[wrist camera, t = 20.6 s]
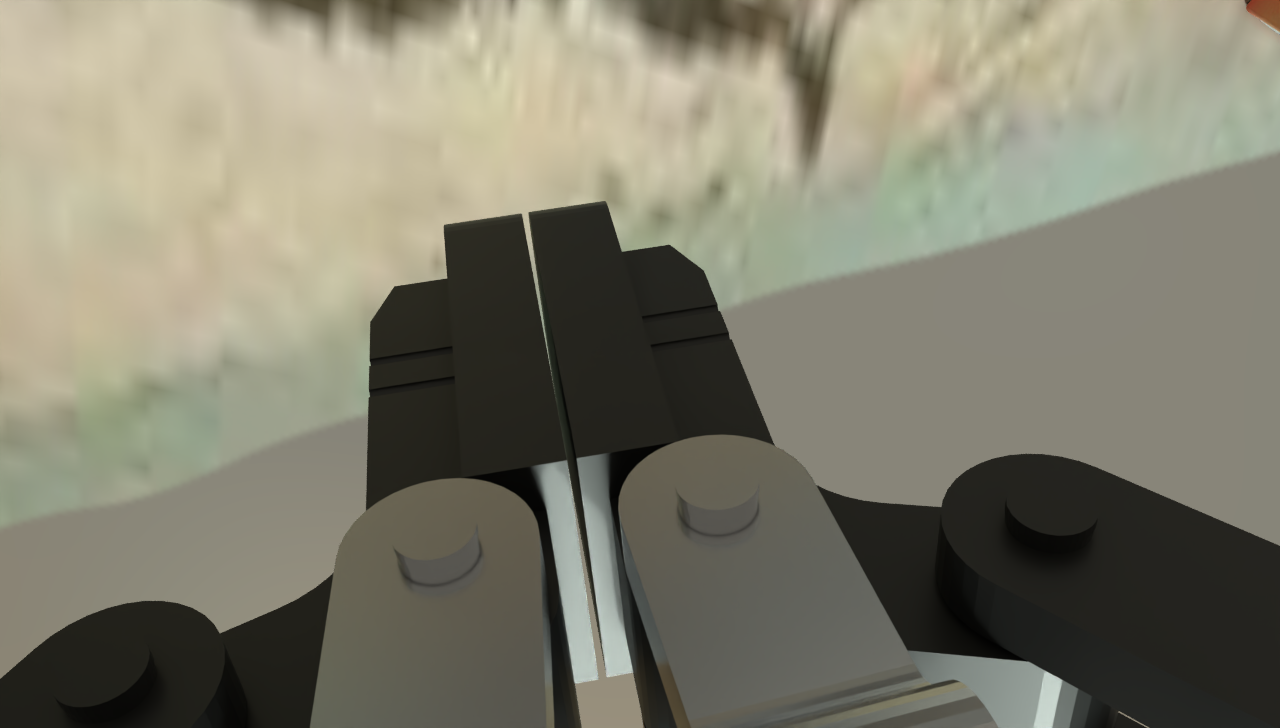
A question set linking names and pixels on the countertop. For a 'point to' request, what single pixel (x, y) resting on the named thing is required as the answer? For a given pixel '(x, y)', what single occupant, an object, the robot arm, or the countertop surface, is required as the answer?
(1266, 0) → the cracker box
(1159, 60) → the countertop surface
